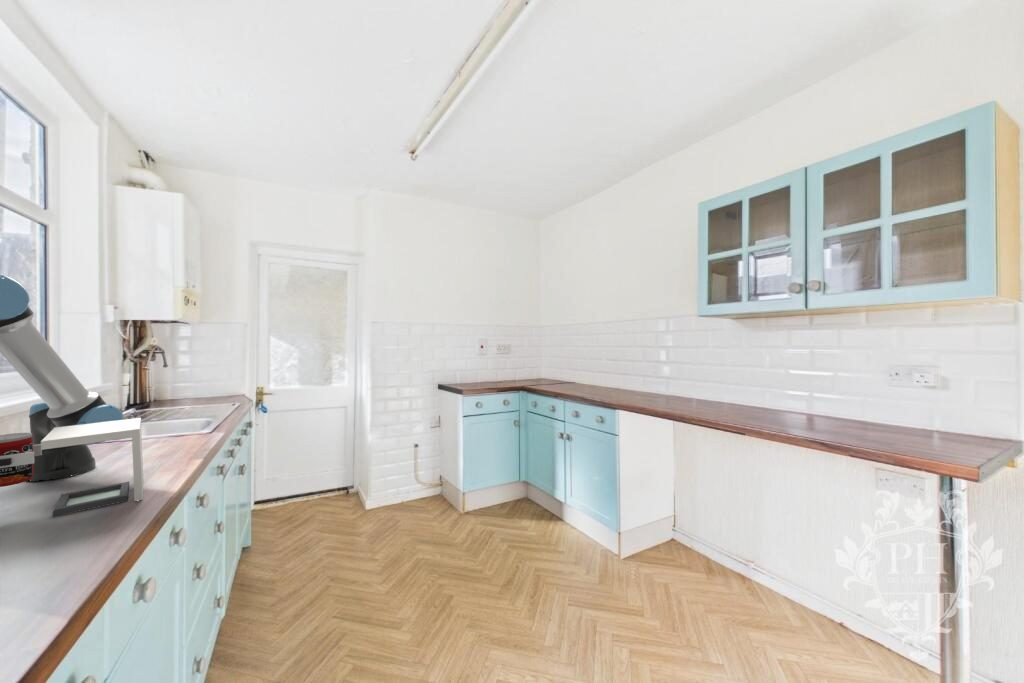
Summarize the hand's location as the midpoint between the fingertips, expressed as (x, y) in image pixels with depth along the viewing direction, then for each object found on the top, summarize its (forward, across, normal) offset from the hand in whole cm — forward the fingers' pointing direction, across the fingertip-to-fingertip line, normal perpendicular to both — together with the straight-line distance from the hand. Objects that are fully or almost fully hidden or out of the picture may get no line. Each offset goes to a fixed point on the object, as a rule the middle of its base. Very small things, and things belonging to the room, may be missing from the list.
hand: (37, 453), depth 101 cm
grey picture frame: (+9, 0, -14) cm, 17 cm away
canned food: (-5, 0, -6) cm, 8 cm away
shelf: (+9, 0, -14) cm, 17 cm away
